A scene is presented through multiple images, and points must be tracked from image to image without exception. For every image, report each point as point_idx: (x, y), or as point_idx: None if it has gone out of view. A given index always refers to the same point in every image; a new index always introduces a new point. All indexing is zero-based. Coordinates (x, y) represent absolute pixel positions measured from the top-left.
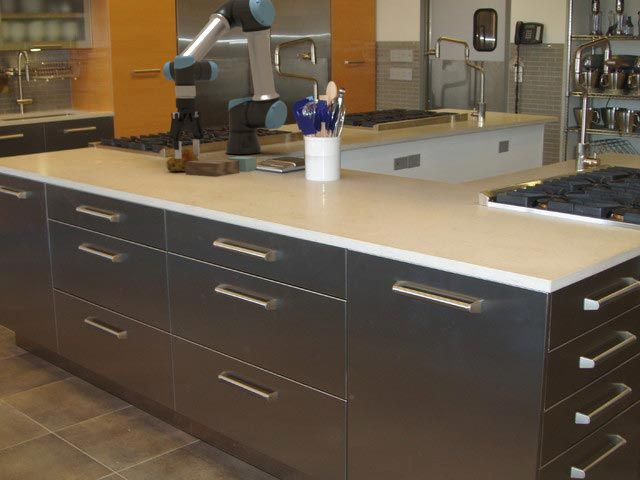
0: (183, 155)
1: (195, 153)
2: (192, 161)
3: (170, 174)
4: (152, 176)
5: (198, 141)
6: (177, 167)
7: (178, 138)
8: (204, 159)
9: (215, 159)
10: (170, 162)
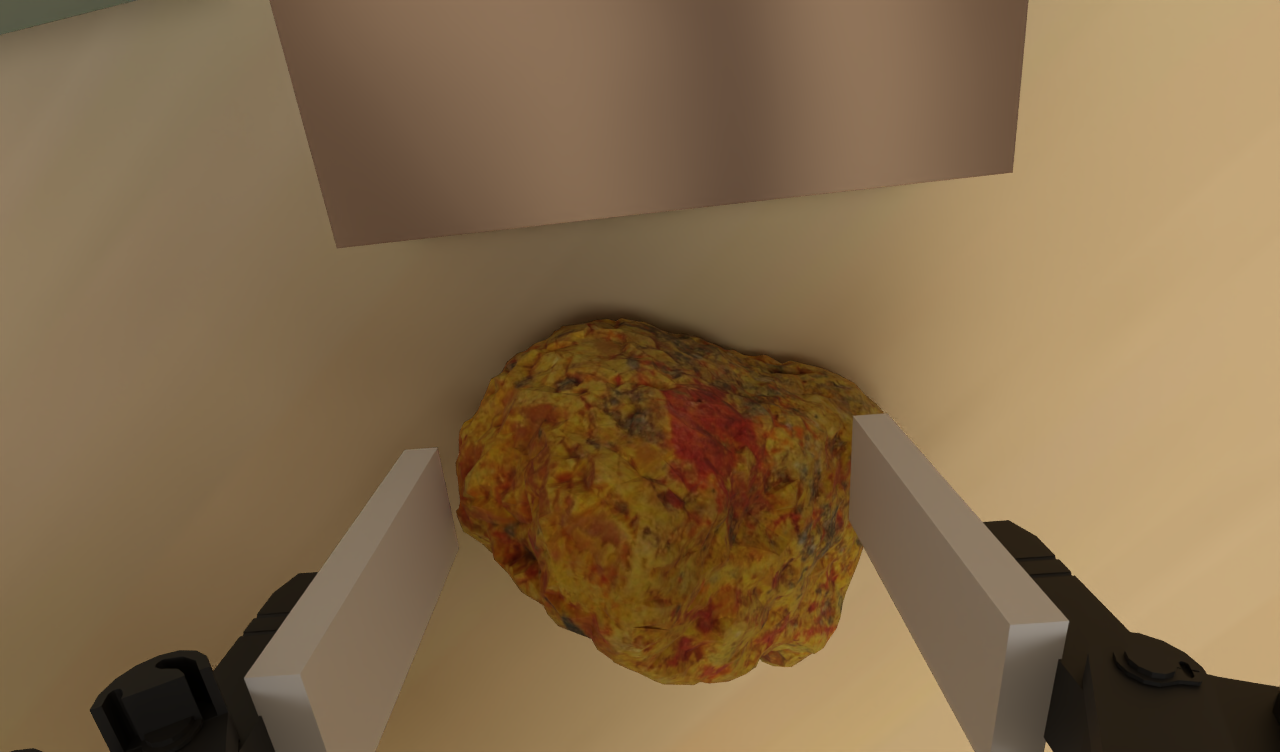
0: (735, 512)
1: (436, 533)
2: (890, 124)
3: (995, 337)
4: (1250, 359)
5: (304, 638)
6: (866, 396)
7: (1168, 697)
8: (500, 217)
9: (359, 30)
10: (852, 562)
